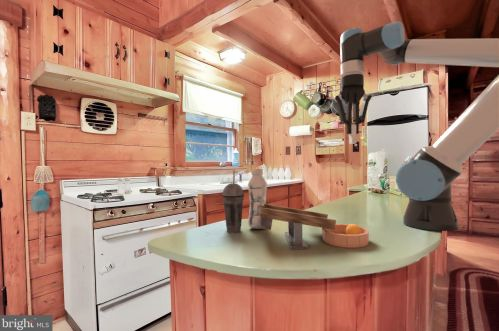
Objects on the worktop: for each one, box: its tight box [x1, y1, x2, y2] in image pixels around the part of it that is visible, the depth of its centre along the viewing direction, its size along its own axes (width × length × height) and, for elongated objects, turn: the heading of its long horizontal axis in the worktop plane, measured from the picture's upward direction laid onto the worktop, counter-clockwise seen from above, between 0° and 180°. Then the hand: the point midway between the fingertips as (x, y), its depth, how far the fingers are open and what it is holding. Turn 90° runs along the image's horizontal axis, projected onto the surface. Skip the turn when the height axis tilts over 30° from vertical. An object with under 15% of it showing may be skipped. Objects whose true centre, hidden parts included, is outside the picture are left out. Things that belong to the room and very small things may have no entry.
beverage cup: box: [221, 169, 245, 233], centre depth 83 cm, size 7×7×20 cm
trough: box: [259, 202, 337, 231], centre depth 74 cm, size 20×15×6 cm
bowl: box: [321, 223, 370, 249], centre depth 71 cm, size 12×12×3 cm
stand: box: [284, 222, 308, 250], centre depth 71 cm, size 4×13×6 cm, turn 179°
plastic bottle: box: [247, 168, 268, 230], centre depth 85 cm, size 6×7×20 cm
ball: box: [346, 223, 361, 235], centre depth 71 cm, size 4×4×4 cm
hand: (352, 143), depth 89 cm, fingers closed
